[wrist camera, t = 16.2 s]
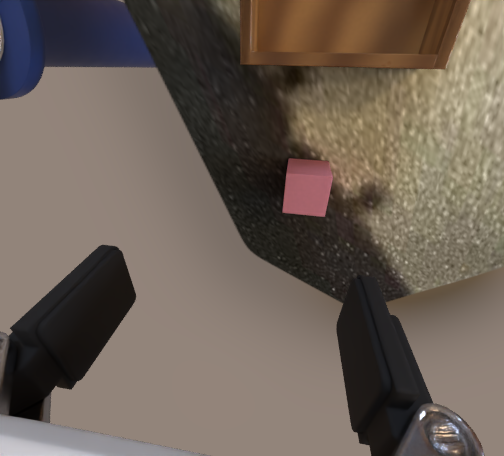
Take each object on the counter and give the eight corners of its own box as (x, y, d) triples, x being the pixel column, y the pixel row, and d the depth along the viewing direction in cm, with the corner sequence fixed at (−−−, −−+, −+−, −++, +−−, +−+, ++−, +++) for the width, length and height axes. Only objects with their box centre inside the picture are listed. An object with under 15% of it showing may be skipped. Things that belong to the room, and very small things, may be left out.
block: (285, 193, 31) (282, 212, 27) (288, 158, 29) (286, 173, 25) (321, 196, 31) (324, 217, 27) (328, 161, 28) (333, 176, 24)
